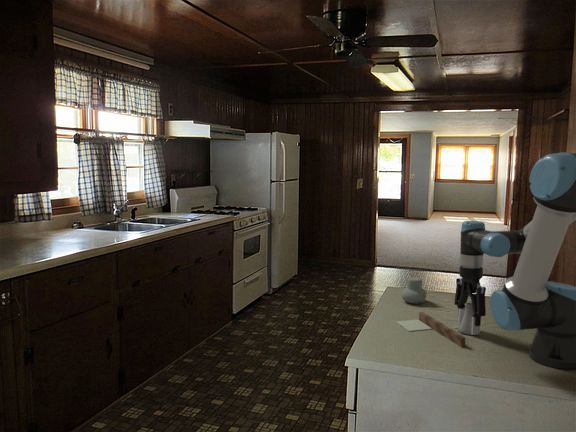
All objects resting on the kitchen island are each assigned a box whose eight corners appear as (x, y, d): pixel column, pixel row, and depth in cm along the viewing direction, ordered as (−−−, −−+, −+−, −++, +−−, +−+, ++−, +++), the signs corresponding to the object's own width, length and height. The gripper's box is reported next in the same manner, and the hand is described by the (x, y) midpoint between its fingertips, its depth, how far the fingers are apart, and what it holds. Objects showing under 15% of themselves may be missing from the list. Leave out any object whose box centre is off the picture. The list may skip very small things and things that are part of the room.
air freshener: (419, 306, 201) (420, 282, 200) (400, 303, 206) (400, 280, 204) (427, 300, 211) (428, 277, 209) (408, 297, 215) (409, 274, 214)
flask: (481, 336, 169) (482, 307, 167) (458, 334, 170) (460, 306, 169) (477, 329, 176) (478, 301, 174) (456, 327, 177) (457, 300, 176)
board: (431, 329, 175) (431, 328, 175) (408, 331, 173) (408, 330, 173) (417, 320, 185) (417, 319, 185) (395, 322, 183) (395, 321, 183)
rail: (465, 346, 160) (465, 337, 159) (460, 347, 159) (461, 338, 159) (422, 319, 186) (422, 312, 185) (419, 320, 185) (419, 312, 185)
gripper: (500, 271, 161) (496, 339, 164) (463, 259, 180) (461, 320, 183) (479, 273, 159) (476, 341, 162) (445, 260, 179) (443, 321, 182)
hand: (468, 330), depth 173 cm, fingers closed on flask, 7 cm apart
